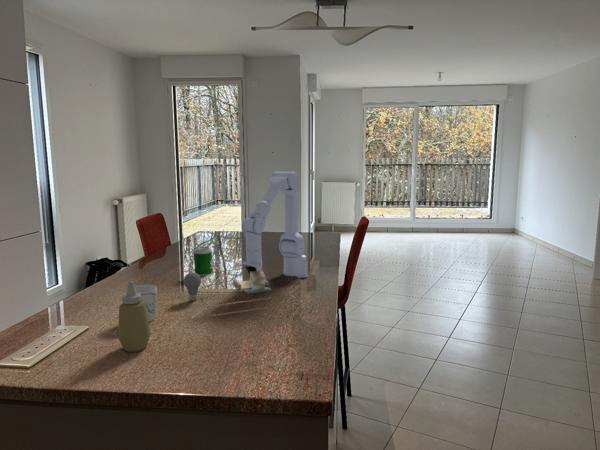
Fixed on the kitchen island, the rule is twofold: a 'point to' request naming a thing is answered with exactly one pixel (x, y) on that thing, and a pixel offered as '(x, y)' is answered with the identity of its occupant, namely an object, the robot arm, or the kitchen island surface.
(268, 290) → the panel
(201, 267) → the soda can
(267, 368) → the kitchen island surface
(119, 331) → the squeeze bottle
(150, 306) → the mug
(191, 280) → the light bulb
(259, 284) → the beige rectangular block
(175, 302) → the kitchen island surface
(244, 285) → the bed
